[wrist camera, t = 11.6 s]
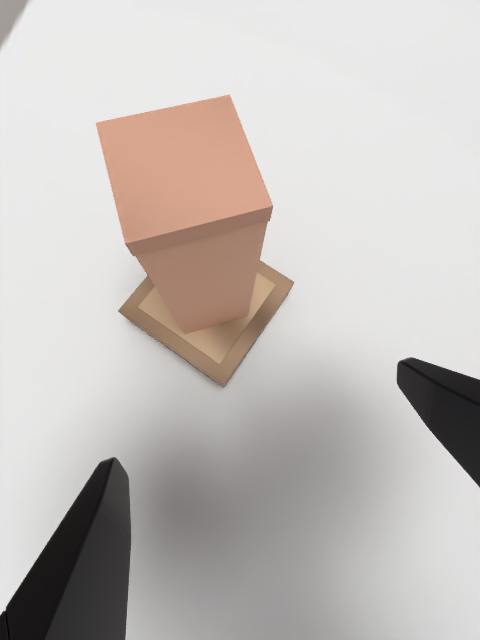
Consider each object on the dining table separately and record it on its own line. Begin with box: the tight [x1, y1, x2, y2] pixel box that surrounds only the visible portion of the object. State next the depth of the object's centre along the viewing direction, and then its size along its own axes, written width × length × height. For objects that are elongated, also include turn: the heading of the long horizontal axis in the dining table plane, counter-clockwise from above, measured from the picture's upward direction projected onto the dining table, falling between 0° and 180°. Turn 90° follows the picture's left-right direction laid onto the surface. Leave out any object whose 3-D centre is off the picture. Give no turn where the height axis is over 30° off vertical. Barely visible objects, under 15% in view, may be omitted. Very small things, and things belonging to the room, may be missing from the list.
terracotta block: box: [96, 95, 273, 334], centre depth 16 cm, size 5×5×12 cm
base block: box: [118, 260, 294, 387], centre depth 23 cm, size 9×9×3 cm
